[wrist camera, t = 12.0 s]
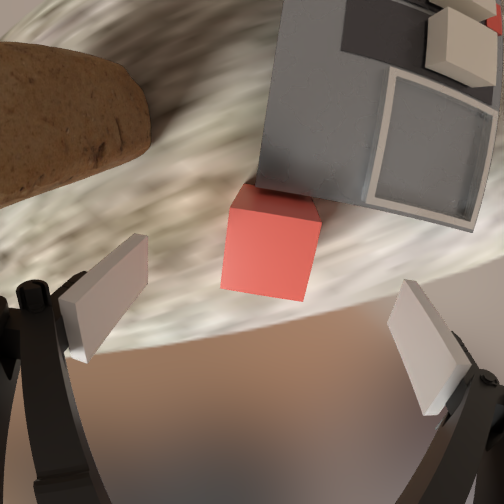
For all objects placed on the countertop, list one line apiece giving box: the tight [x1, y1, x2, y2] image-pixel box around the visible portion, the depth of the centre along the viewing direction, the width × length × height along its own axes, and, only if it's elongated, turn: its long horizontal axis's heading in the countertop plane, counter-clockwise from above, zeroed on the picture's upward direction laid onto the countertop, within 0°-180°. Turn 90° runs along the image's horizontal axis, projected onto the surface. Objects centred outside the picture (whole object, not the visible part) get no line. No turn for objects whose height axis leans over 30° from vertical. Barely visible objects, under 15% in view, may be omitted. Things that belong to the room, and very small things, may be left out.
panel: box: [255, 0, 503, 233], centre depth 17 cm, size 17×21×4 cm
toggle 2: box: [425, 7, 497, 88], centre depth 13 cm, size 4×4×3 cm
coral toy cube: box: [220, 184, 322, 302], centre depth 21 cm, size 5×5×7 cm
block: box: [0, 42, 151, 209], centre depth 13 cm, size 11×8×20 cm
